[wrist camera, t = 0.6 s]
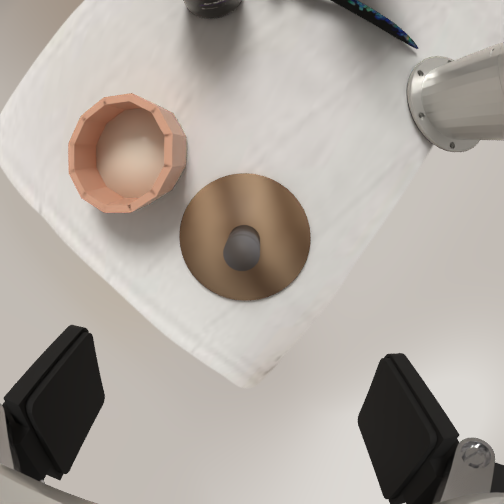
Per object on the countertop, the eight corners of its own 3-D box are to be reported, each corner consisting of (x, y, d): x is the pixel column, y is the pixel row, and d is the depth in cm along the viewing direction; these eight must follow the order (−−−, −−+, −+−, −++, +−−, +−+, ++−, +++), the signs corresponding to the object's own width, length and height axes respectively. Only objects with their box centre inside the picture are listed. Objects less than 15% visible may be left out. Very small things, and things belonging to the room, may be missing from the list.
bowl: (157, 84, 31) (138, 72, 25) (205, 170, 34) (194, 173, 28) (80, 140, 33) (53, 140, 27) (123, 221, 36) (100, 233, 30)
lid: (272, 149, 33) (274, 148, 27) (329, 263, 37) (340, 283, 31) (159, 213, 36) (140, 223, 30) (221, 315, 39) (215, 340, 34)
